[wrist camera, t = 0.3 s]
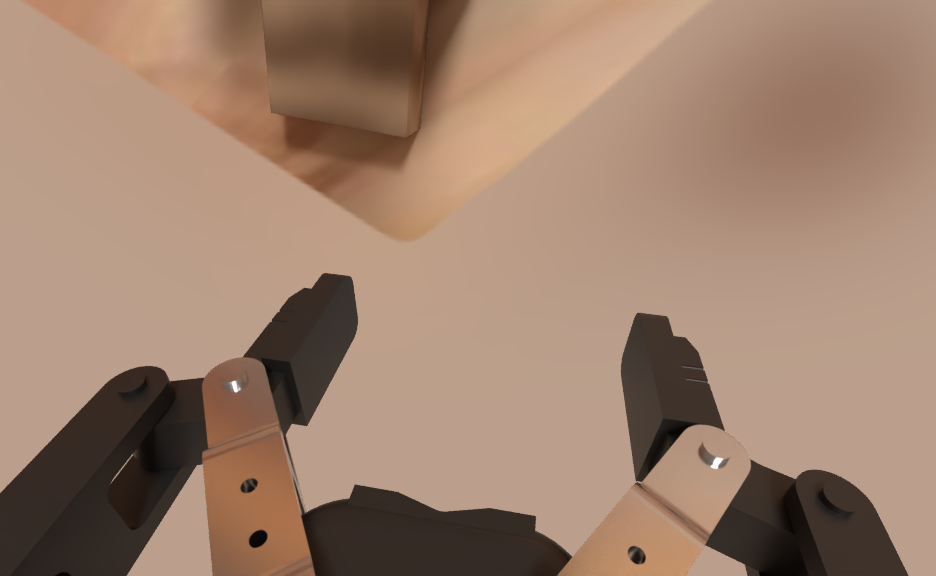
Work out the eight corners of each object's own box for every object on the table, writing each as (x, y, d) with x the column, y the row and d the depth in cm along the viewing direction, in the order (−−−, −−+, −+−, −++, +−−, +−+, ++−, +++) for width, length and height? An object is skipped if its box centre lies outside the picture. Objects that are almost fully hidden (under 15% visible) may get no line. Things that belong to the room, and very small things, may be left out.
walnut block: (288, -54, 34) (255, -62, 31) (433, -33, 33) (416, -39, 30) (297, 104, 40) (270, 112, 37) (421, 127, 39) (406, 137, 35)
